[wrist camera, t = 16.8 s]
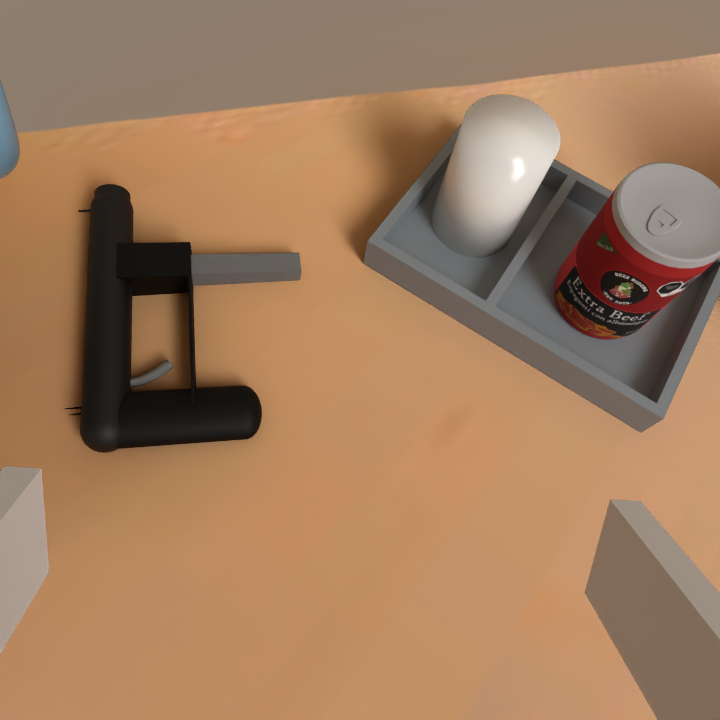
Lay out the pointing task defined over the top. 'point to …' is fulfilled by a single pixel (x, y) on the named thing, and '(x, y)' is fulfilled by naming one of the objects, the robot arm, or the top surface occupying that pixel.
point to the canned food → (640, 250)
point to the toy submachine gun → (114, 334)
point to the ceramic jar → (493, 174)
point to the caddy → (543, 294)
